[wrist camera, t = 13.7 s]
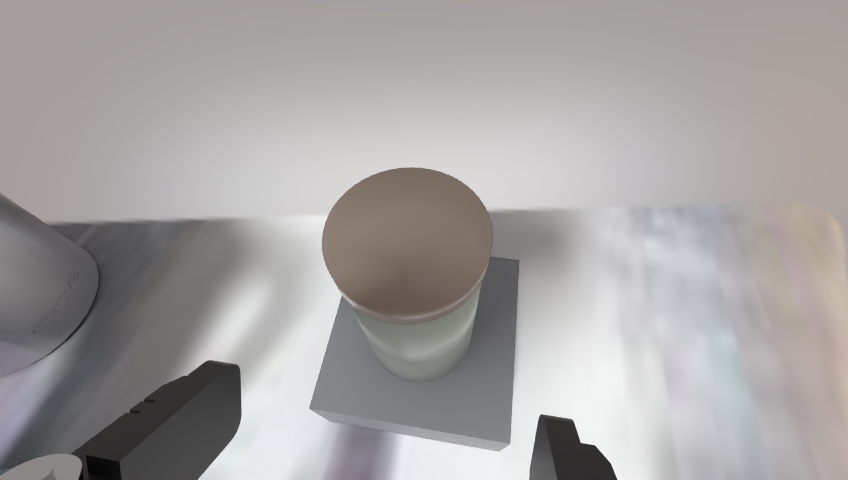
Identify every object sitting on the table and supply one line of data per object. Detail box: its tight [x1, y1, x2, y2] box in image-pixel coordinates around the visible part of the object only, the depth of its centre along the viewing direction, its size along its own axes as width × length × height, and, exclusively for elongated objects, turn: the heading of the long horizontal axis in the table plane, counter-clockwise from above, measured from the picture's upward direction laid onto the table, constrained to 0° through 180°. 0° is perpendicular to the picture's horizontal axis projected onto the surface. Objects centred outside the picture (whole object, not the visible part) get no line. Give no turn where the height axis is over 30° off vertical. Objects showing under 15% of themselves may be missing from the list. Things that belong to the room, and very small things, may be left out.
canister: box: [322, 168, 492, 383], centre depth 16 cm, size 5×5×9 cm
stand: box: [309, 257, 519, 451], centre depth 22 cm, size 9×9×4 cm
